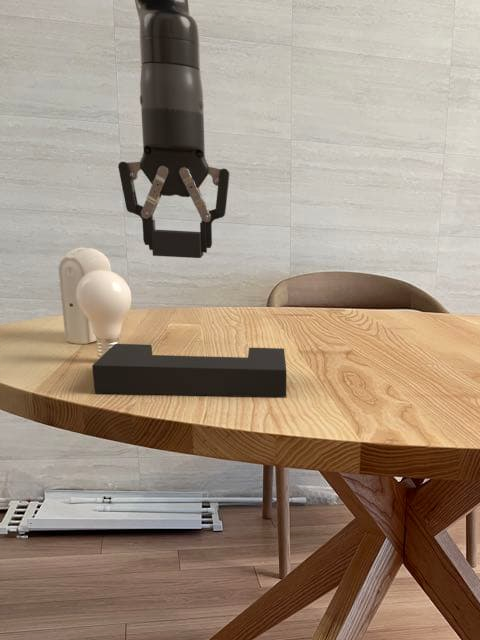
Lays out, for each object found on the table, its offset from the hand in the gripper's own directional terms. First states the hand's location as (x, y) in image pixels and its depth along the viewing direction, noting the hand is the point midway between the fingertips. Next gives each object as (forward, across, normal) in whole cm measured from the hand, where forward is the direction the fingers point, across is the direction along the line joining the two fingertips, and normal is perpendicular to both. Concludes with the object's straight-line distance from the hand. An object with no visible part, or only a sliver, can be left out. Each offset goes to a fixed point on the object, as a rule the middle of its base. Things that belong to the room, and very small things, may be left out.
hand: (178, 250), depth 109 cm
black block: (+1, 0, 0) cm, 1 cm away
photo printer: (+13, +13, -7) cm, 20 cm away
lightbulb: (+13, +8, +10) cm, 18 cm away
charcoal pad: (+13, -3, +22) cm, 26 cm away
